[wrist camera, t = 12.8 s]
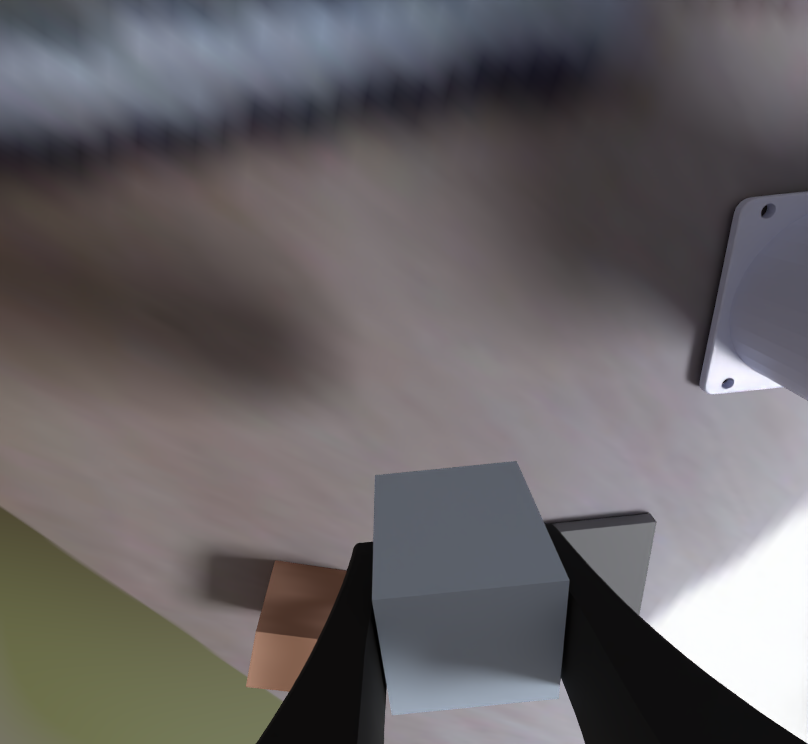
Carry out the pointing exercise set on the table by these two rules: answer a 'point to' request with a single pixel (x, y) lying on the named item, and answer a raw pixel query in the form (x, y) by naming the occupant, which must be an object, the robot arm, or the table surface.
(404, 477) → the pale blue cube
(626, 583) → the board
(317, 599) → the terracotta block
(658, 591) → the table surface
